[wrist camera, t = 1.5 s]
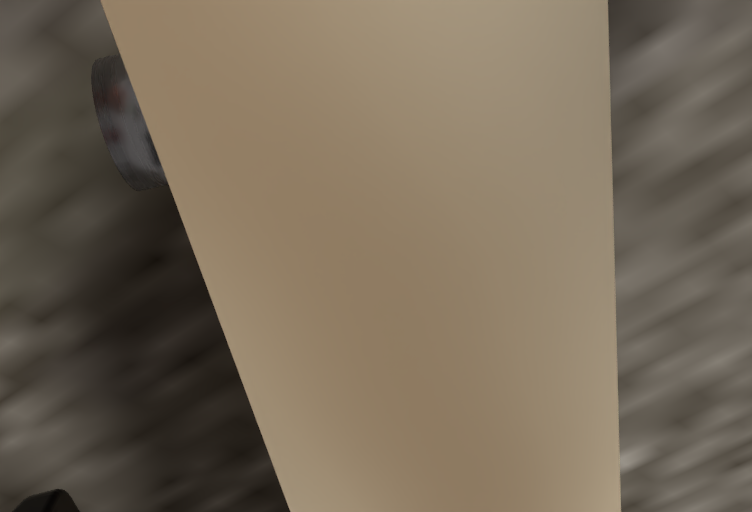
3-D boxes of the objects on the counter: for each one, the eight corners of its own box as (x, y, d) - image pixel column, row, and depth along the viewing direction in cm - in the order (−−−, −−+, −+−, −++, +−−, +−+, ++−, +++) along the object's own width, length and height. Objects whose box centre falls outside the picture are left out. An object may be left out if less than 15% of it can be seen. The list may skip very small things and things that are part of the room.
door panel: (384, -148, 11) (602, -223, 4) (475, 418, 17) (628, 803, 10) (134, -93, 11) (-126, -63, 4) (314, 458, 16) (349, 877, 9)
